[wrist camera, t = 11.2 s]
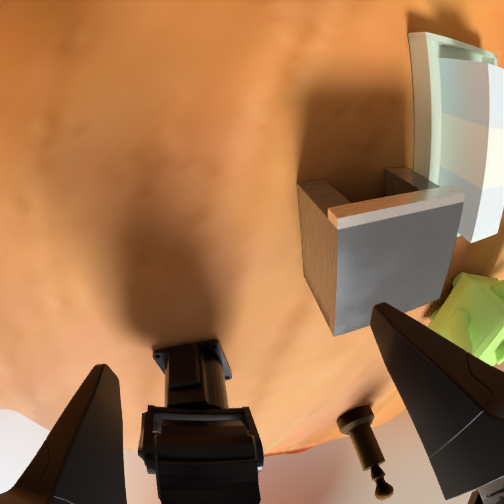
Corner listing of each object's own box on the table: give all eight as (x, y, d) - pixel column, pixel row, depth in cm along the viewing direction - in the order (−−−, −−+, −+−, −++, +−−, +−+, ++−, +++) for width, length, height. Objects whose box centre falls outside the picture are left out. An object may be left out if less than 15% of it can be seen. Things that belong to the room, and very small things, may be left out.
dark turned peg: (366, 415, 45) (398, 493, 30) (335, 427, 45) (363, 508, 30) (373, 401, 42) (410, 487, 27) (338, 413, 41) (372, 505, 26)
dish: (470, 219, 24) (482, 228, 22) (406, 236, 23) (419, 248, 21) (479, 52, 14) (496, 54, 12) (407, 33, 14) (425, 31, 12)
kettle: (409, 295, 28) (467, 373, 18) (493, 228, 25) (556, 282, 16) (420, 351, 36) (456, 409, 26) (488, 298, 33) (528, 345, 24)
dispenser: (397, 252, 24) (439, 298, 18) (304, 276, 23) (333, 336, 18) (405, 159, 19) (465, 192, 14) (295, 174, 19) (337, 218, 13)
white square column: (461, 207, 22) (497, 233, 18) (434, 213, 22) (470, 243, 18) (469, 64, 14) (514, 73, 10) (438, 57, 14) (487, 63, 10)
